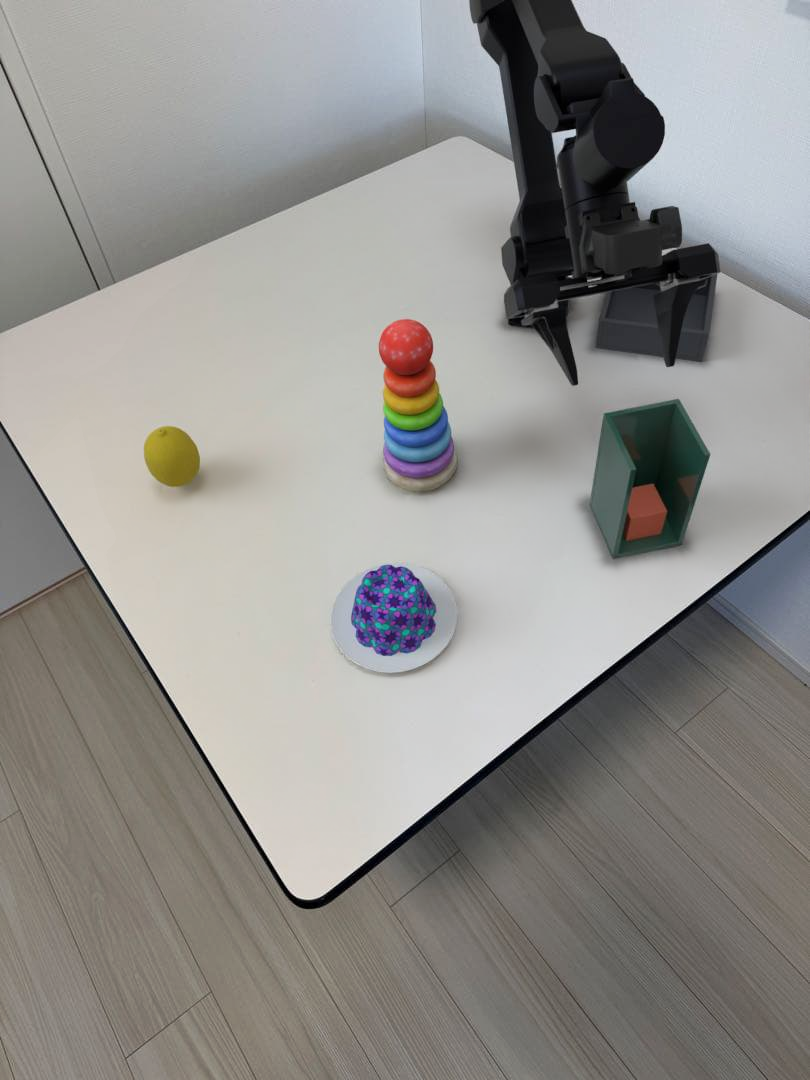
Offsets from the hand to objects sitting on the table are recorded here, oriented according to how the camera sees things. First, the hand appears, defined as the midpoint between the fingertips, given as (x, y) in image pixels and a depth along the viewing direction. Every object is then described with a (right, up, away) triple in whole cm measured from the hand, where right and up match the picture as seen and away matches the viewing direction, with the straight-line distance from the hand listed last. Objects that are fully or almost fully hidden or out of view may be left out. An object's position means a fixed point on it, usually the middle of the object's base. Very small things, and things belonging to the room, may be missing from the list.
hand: (622, 375), depth 76 cm
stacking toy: (-19, -8, +12) cm, 23 cm away
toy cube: (+3, -14, +4) cm, 15 cm away
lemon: (-45, -9, +14) cm, 48 cm away
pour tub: (+3, -14, +5) cm, 15 cm away
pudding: (-21, -23, +1) cm, 31 cm away
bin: (+10, +11, +23) cm, 27 cm away
